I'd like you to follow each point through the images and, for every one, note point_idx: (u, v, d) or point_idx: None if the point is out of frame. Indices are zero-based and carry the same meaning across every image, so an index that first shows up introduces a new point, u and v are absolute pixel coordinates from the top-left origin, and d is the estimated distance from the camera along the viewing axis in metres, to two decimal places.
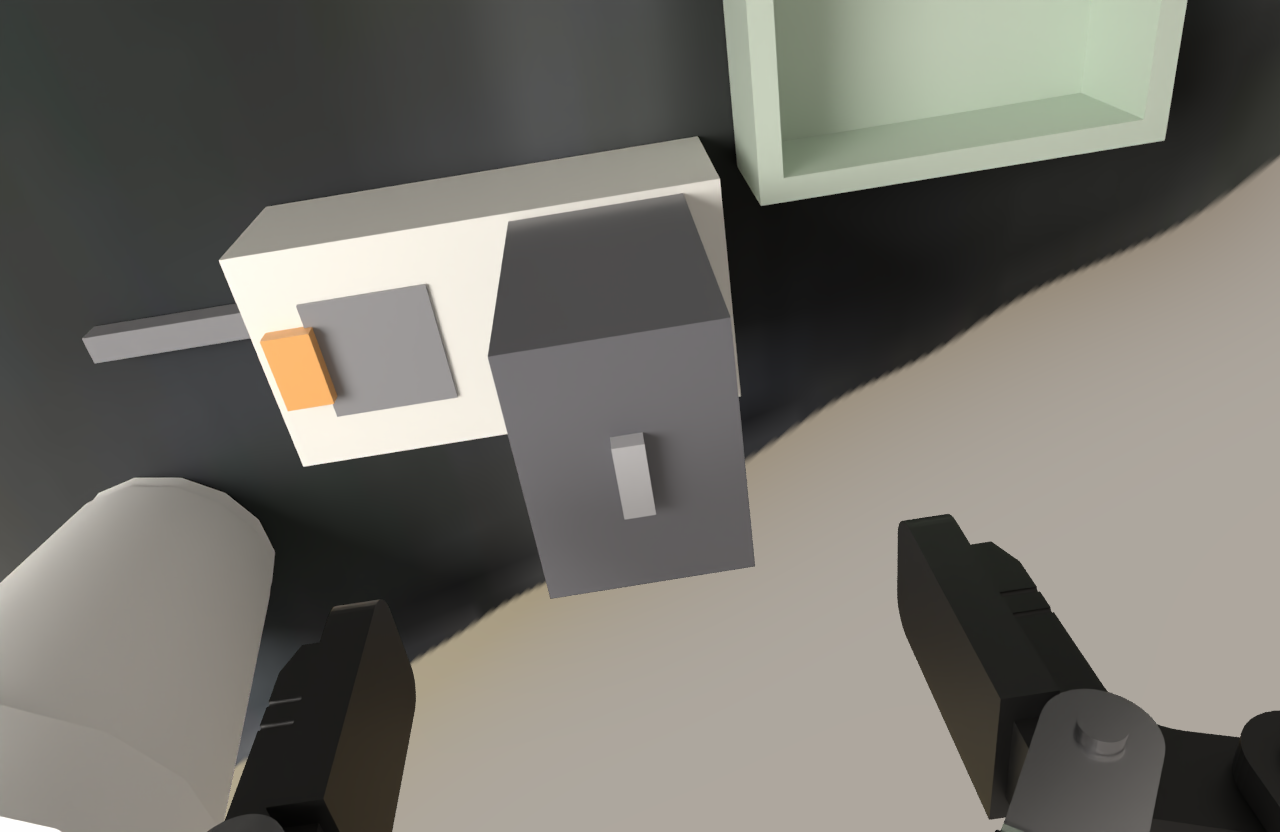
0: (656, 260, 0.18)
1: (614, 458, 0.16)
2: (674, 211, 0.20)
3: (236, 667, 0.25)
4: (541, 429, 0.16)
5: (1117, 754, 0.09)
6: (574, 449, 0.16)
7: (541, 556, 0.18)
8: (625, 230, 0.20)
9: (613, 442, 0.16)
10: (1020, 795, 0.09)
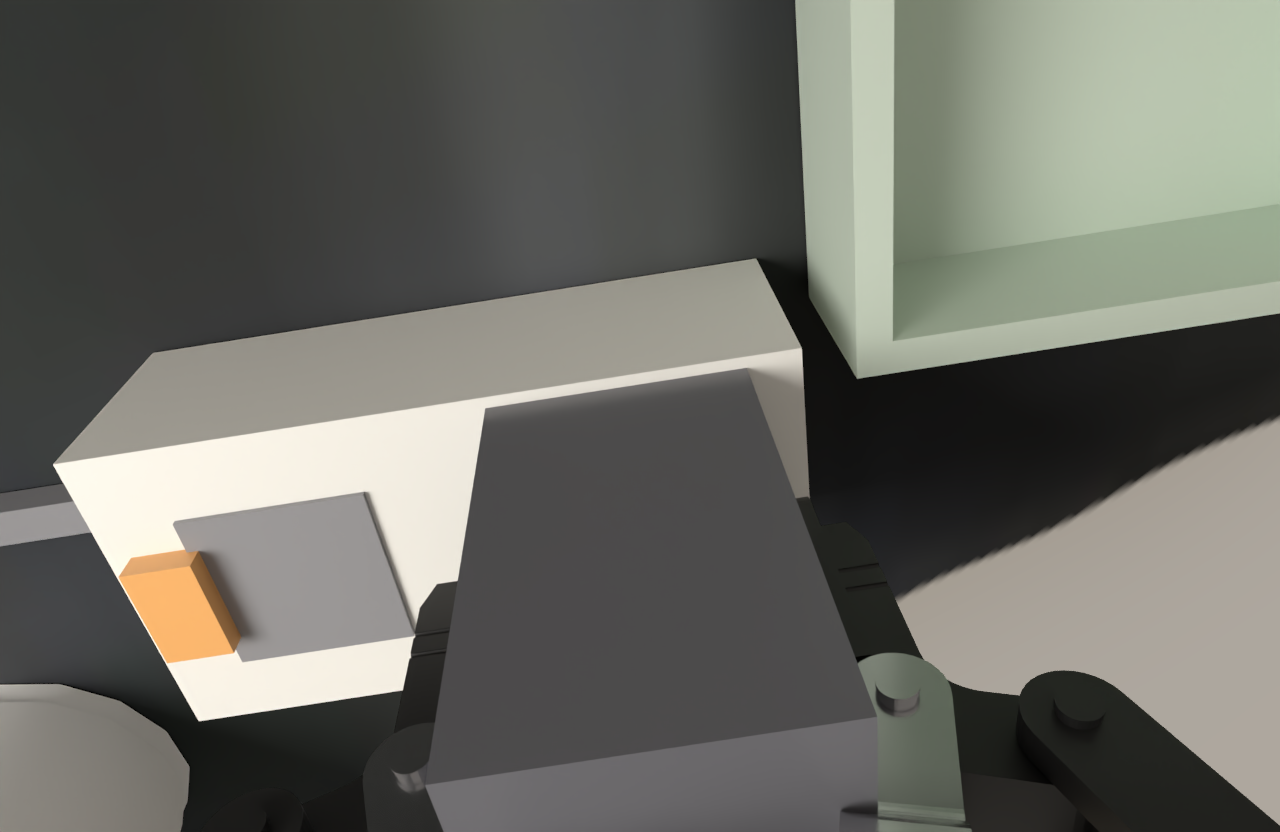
0: (719, 529, 0.11)
1: None
2: (737, 408, 0.13)
3: None
4: None
5: (907, 710, 0.10)
6: None
7: None
8: (664, 445, 0.13)
9: None
10: None
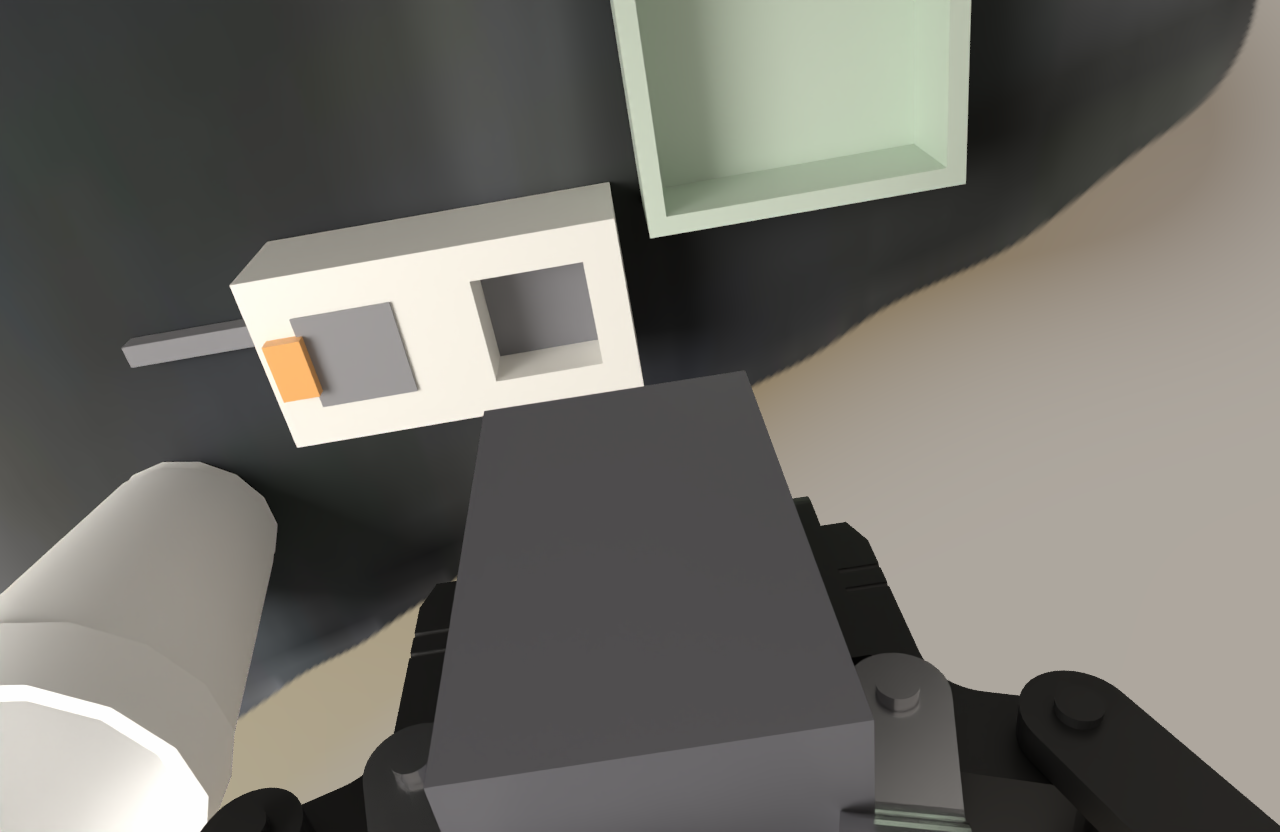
0: (717, 532, 0.11)
1: None
2: (734, 410, 0.13)
3: (245, 610, 0.32)
4: None
5: (907, 710, 0.10)
6: None
7: None
8: (662, 449, 0.13)
9: None
10: None
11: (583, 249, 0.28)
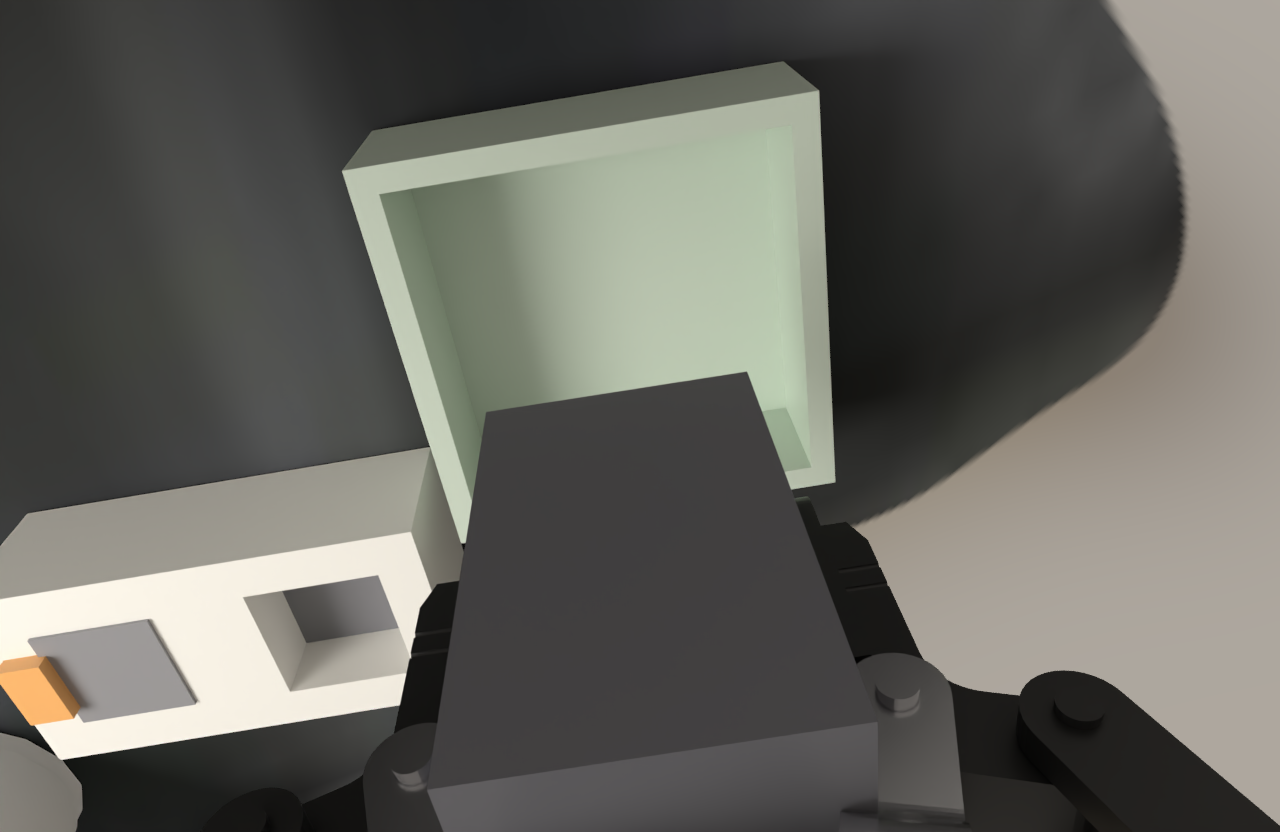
0: (720, 533, 0.11)
1: None
2: (737, 411, 0.13)
3: None
4: None
5: (907, 710, 0.10)
6: None
7: None
8: (664, 450, 0.13)
9: None
10: None
11: (377, 562, 0.23)
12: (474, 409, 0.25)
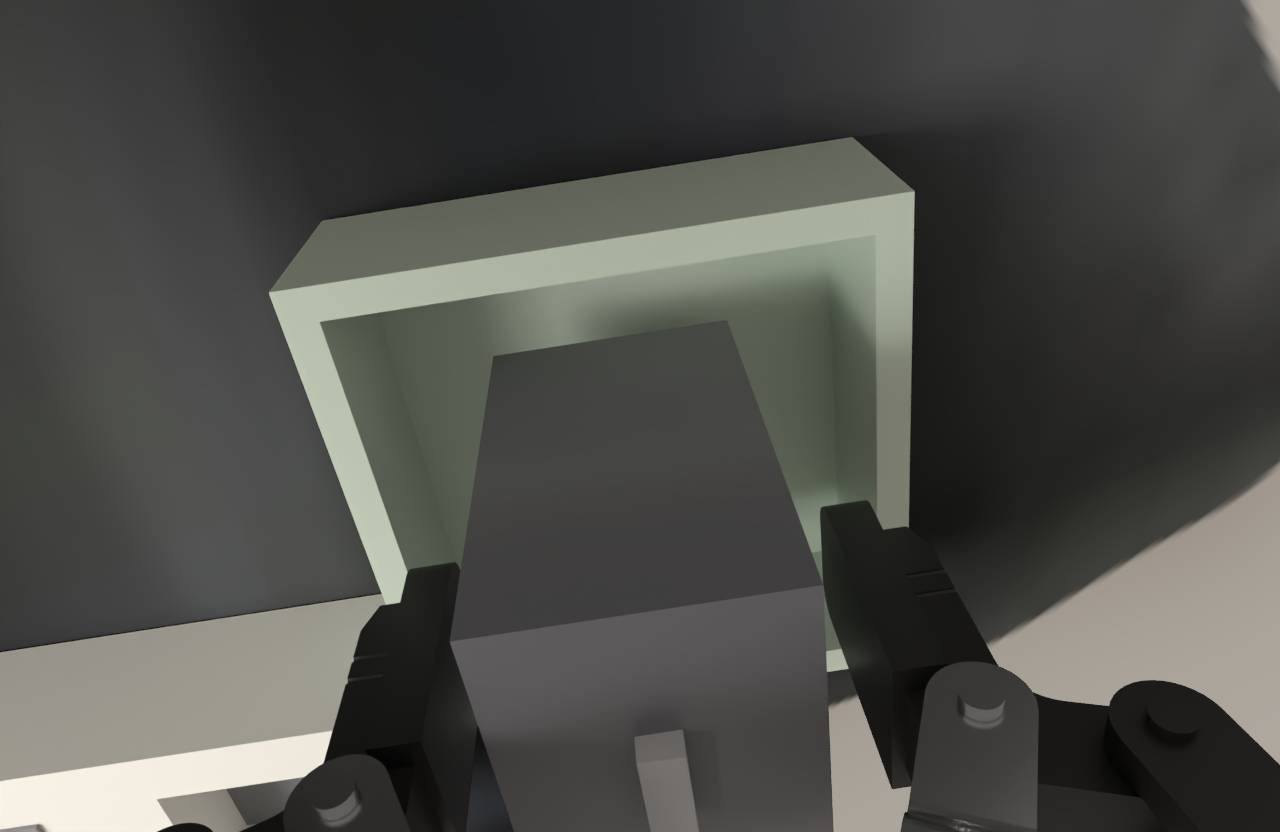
0: (698, 449, 0.13)
1: (641, 774, 0.11)
2: (717, 353, 0.15)
3: None
4: (531, 729, 0.11)
5: (993, 721, 0.10)
6: (581, 752, 0.11)
7: None
8: (651, 384, 0.14)
9: (640, 749, 0.11)
10: (919, 774, 0.09)
11: None
12: (454, 551, 0.20)
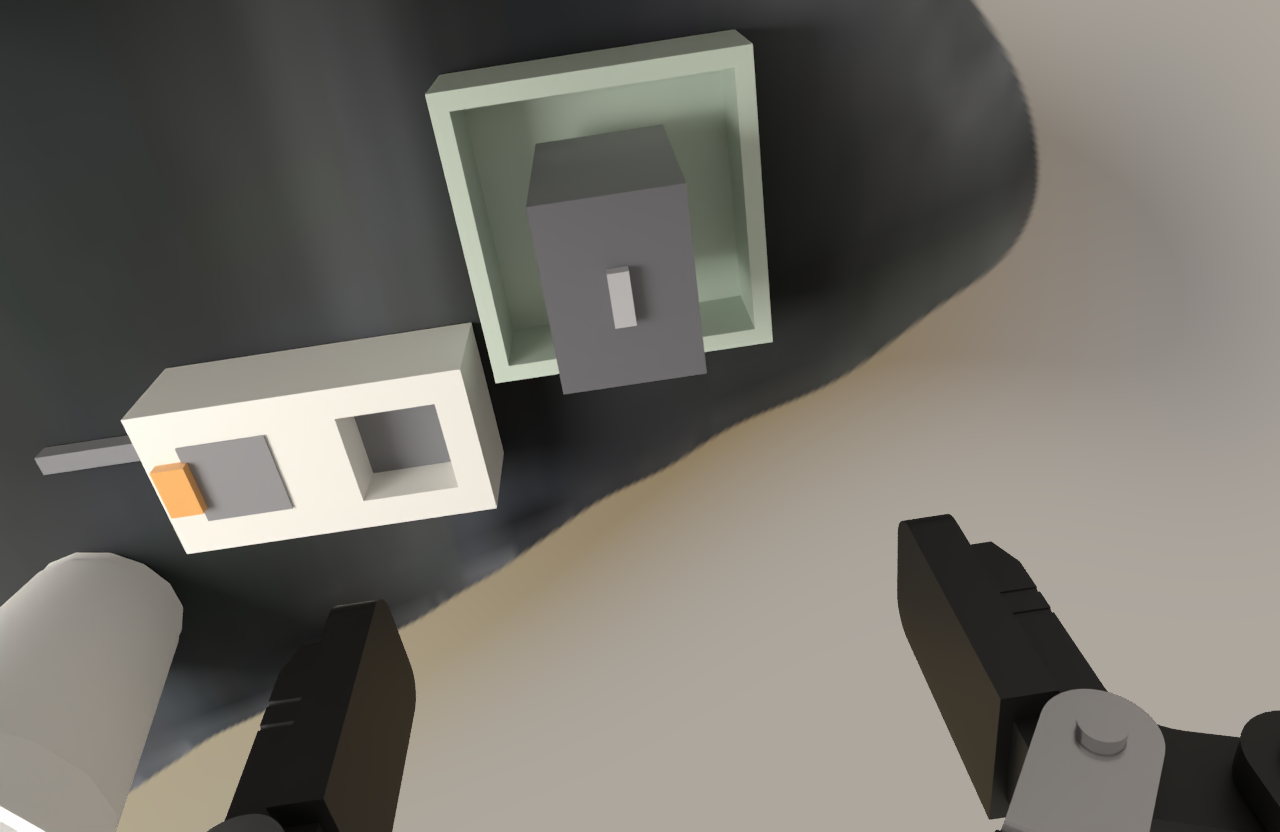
0: (640, 159, 0.26)
1: (608, 281, 0.24)
2: (654, 134, 0.28)
3: (139, 696, 0.35)
4: (559, 261, 0.24)
5: (1117, 754, 0.09)
6: (582, 277, 0.24)
7: (558, 360, 0.26)
8: (620, 145, 0.28)
9: (608, 271, 0.24)
10: (1020, 795, 0.09)
11: (434, 394, 0.32)
12: (506, 290, 0.34)
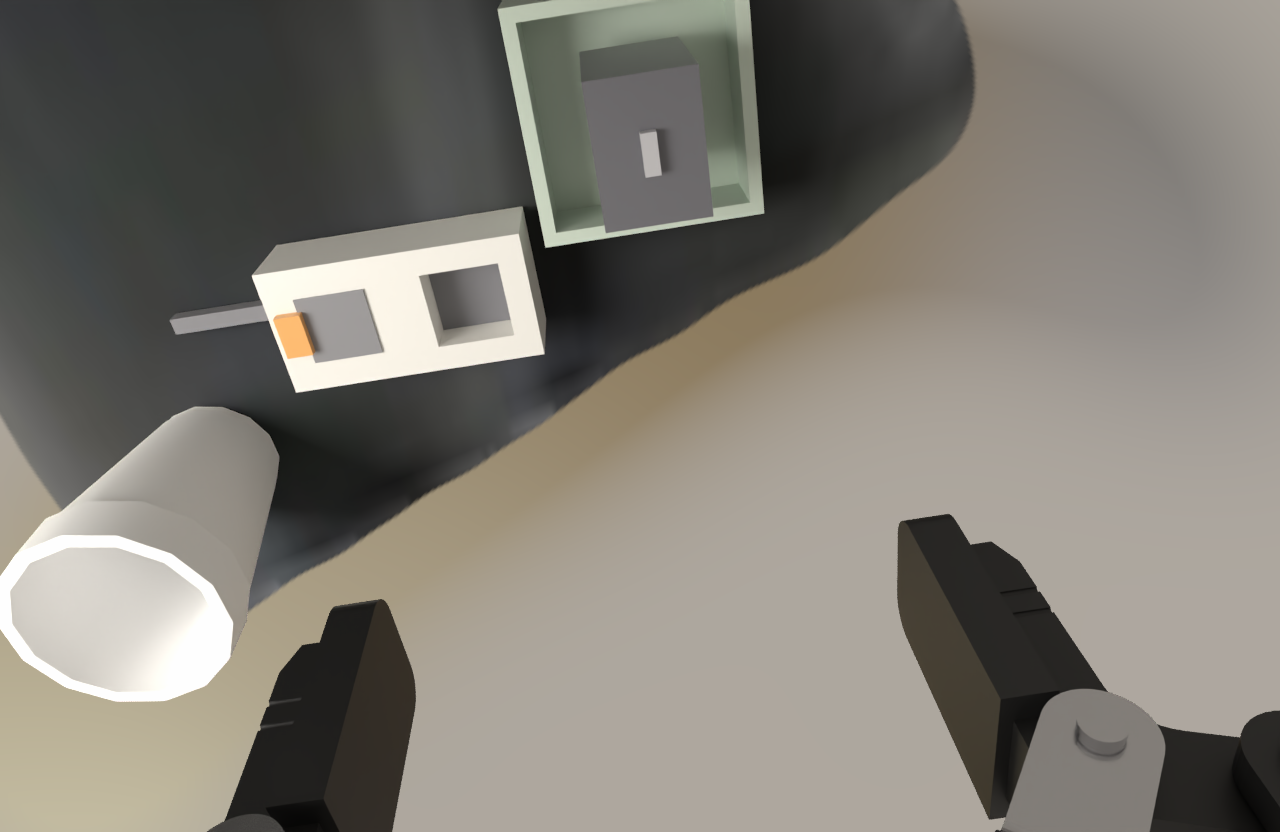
0: (662, 54, 0.34)
1: (641, 139, 0.33)
2: (672, 41, 0.37)
3: (256, 510, 0.44)
4: (605, 125, 0.33)
5: (1117, 754, 0.09)
6: (621, 138, 0.33)
7: (602, 204, 0.34)
8: (645, 48, 0.36)
9: (641, 132, 0.33)
10: (1020, 795, 0.09)
11: (497, 254, 0.40)
12: (551, 178, 0.42)
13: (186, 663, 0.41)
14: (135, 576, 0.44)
